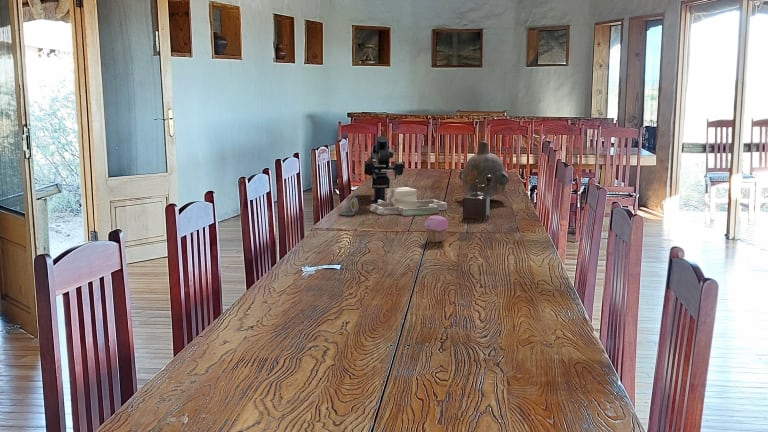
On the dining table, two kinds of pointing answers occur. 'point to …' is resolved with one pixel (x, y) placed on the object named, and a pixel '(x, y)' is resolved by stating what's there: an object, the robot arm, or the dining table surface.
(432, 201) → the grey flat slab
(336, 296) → the dining table surface
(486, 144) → the jug
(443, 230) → the cupcake
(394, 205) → the birch block
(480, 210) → the manual coffee grinder
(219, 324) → the dining table surface
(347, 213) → the pocket watch
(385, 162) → the robot arm
